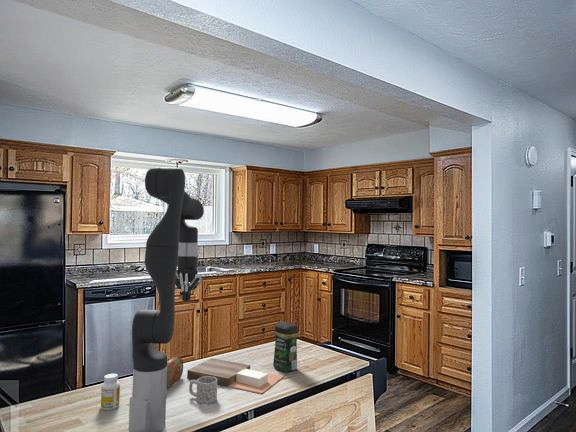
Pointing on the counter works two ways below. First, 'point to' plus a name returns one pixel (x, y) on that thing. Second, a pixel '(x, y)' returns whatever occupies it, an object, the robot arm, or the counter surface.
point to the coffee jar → (285, 346)
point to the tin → (174, 370)
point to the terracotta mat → (271, 381)
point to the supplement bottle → (110, 392)
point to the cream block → (252, 377)
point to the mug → (205, 390)
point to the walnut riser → (217, 371)
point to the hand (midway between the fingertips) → (186, 301)
